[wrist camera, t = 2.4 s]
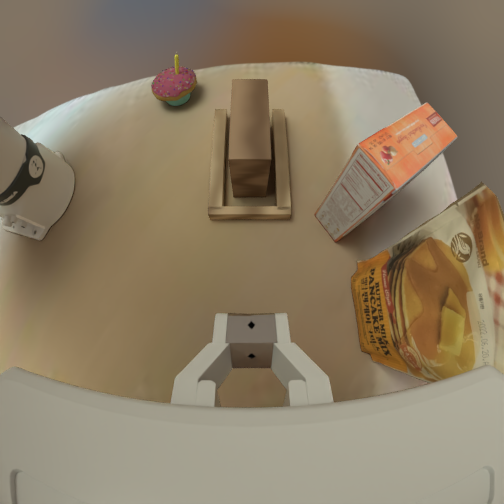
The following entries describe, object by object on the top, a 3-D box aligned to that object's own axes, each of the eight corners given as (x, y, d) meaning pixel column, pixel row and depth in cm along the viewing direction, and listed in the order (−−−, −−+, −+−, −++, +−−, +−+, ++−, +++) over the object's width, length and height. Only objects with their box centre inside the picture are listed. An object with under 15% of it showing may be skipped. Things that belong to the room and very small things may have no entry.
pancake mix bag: (379, 247, 42) (507, 178, 14) (396, 361, 38) (530, 398, 11) (342, 254, 42) (462, 177, 14) (360, 373, 38) (486, 436, 11)
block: (233, 197, 43) (228, 159, 32) (235, 126, 46) (232, 79, 34) (265, 197, 43) (271, 159, 32) (263, 126, 46) (267, 79, 34)
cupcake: (196, 79, 48) (187, 36, 37) (203, 106, 47) (193, 61, 35) (156, 91, 48) (140, 50, 36) (159, 119, 46) (140, 77, 34)
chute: (210, 219, 42) (208, 214, 40) (216, 117, 46) (215, 109, 44) (288, 219, 43) (291, 214, 40) (282, 117, 46) (284, 109, 44)
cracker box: (369, 171, 45) (427, 99, 24) (390, 198, 44) (461, 137, 23) (310, 213, 43) (356, 140, 22) (334, 244, 42) (400, 192, 21)
